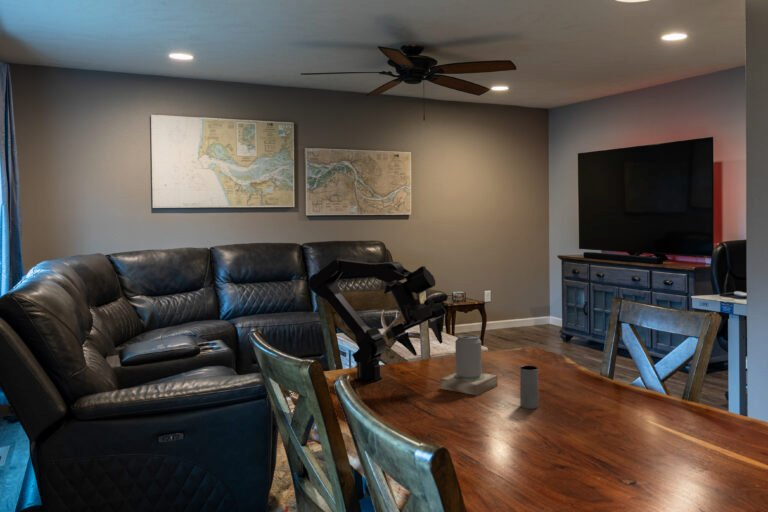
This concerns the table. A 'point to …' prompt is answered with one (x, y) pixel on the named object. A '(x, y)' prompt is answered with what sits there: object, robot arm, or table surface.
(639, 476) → the table surface
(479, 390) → the pedestal
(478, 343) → the can
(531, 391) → the grey cylinder
